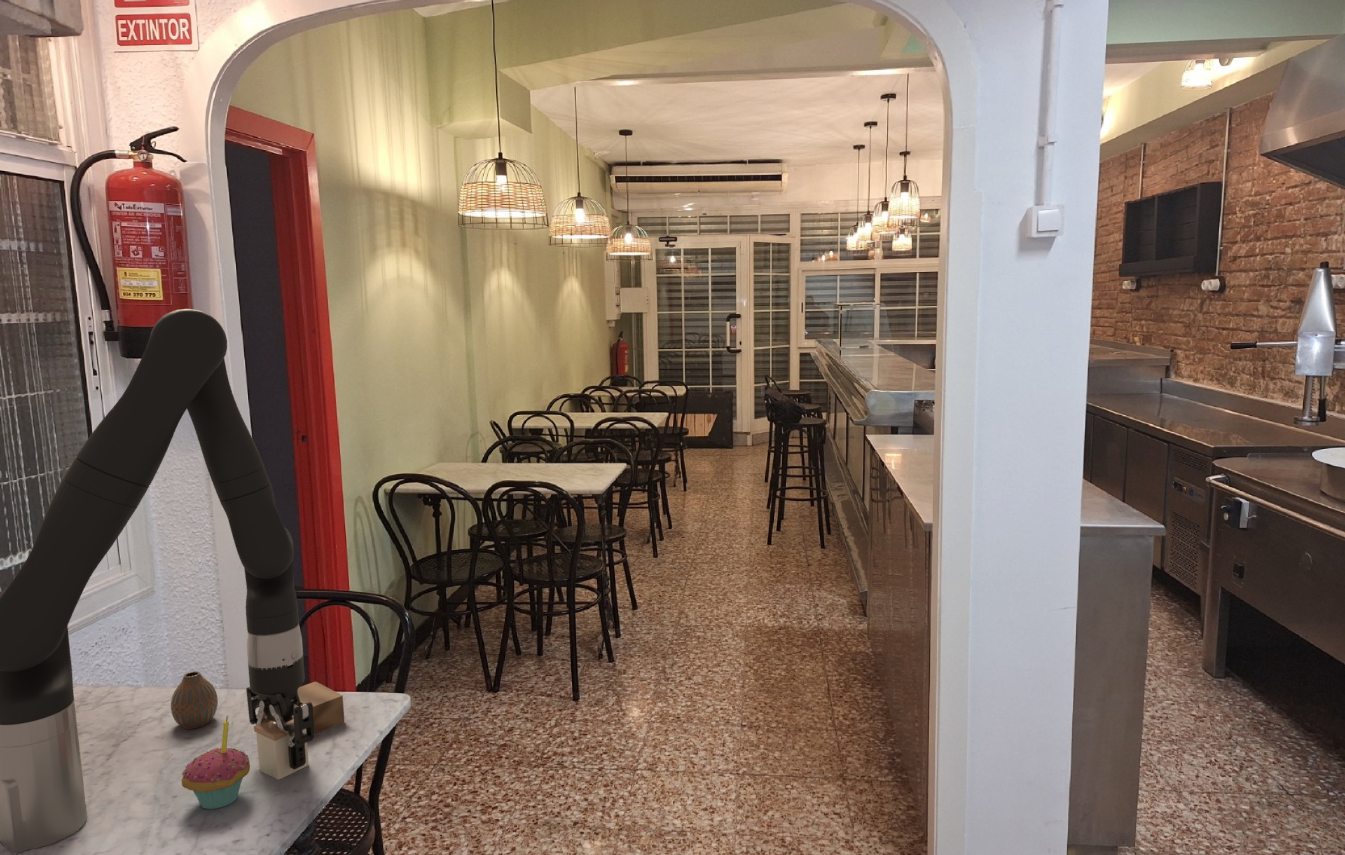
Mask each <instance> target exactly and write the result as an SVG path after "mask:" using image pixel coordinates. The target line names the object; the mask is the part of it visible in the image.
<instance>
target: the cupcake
mask: <svg viewBox="0 0 1345 855" xmlns="http://www.w3.org/2000/svg"><path fill="white" fill-rule="evenodd" d="M225 718H226V719H225V721H223V727H222V737H221V738H222V739H221V747H219V748H218V747H217V748H212V749H211V750H209V751H206V752H205V753H203V754H201V755H199V756H197V757H195V758H194V759H193V760H192V761H191V762H189V763H187V765H186V766H185V769H184V770H183V772H182V773H181V774H182V778H181V786H182V787H183V788H184V789H186V790H189V791H192V792H193V793H194V795H195V797H196V799H197V800H198V803H199V804H200V805H199V806H200V807H201V808H203V809H206V810H213V809H214V810H215V809H220V808H224V807H226V806H228V805H230V804H232V803H234V802H235V801H236V800H237V798H238V797H239V794H240V793H239V792H240V788H241V784H242V782H243V779H244V778H245V777H246V776H247V775H249V772H250V769H251V768H250V767H251V764H250V763H251V762H250V760H249V756H248V755H247V754H246V753H245V751H241V750H239V749H237V748H230V747H229V748H227V747H228V746H227V745H228V735H229V726H230V725H229V723H230V722H229V720H228V719H229V715H227V716H226V717H225Z"/></svg>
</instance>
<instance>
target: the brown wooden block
mask: <svg viewBox="0 0 1345 855" xmlns="http://www.w3.org/2000/svg"><path fill="white" fill-rule="evenodd" d="M297 692H298V696H299V699H300V702H301V703H303V704H305V703H308V702H311V703H312V705H313V719H314V735H316V734H319V733H321V732H323V731H326V730H329V729H331V728H333V727H336V726H339V725H341V724H344V723H345V710H344V709H345V708H344V697H343V696H344V695H343V694H341V693H338V692H337V691H335V690H333V689H331V688H329V687H327V686H325V685H324V684H322V683H319V682H318V681H313V682H310V683H308V684H305V685H301V686H300V687H299V688H298V690H297ZM306 733H307V729H306Z"/></svg>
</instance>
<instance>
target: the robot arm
mask: <svg viewBox="0 0 1345 855" xmlns="http://www.w3.org/2000/svg"><path fill="white" fill-rule="evenodd" d="M226 334H227V333H226V332H225V330H224V327H223V326H222V325H221V324H220V322H219V321H218V320H217V319H215V317H213V316H212V315H210V314H208V313H207V312H206V311H202V310H198V309H193V308H192V309H191V308H184V309H182V308H181V309H176V310H173V311H170V312H168V313H165V314H163V316H162V317H161V318H159V319H158V320H157V322H156V323H155V324H154V325H153V327H152V329H151V332H150V334H149V339H148V342H147V344H146V347H145V350H144V351H143V353H142V356H141V359H140V361H139V363H138V365H137V367H136V368H135V371H134V374H133V375H132V378H131V380H130V381H129V384H128V385H127V387H126V388H125V390H124V392H123V394H122V395H121V396H120V398H119V399H118V401H117V402H116V403H115V404H114V405H113V407H112V408H111V409H110V410H109V411H108V412H107V414H106V415H105V416H104V418H102V420H101V421H100V422H99V424H98V425H97V426H96V427H95V429H94V430H93V431H92V432H91V434H90V435H89V437H88V438H87V439H86V441H85V443H83V445H82V447H81V449H79V451H78V453H77V455H76V456H75V458H74V460H73V461H72V462H71V465H70V466H69V468H68V470H67V471H66V473H65V475H64V477H63V478H62V480H61V481H60V483H59V485H58V487H57V489H56V491H55V493H54V495H53V497H52V500H51V502H50V504H49V506H48V509H47V510H46V513H45V515H44V518H43V520H42V523H41V526H40V528H39V531H38V534H37V536H36V539H35V541H34V544H33V546H32V548H31V550H30V552H29V554H28V556H27V557H26V560H25V561H24V563H23V564H22V566H21V567H20V569H19V571H18V572H17V573H16V575H15V577H14V578H13V579H12V581H11V582H10V583H9V585H8V586H7V588H6V589H4V590H2V591H0V843H1V844H2V845H3V846H4V847H5V848H6V849H7V850H8V851H10V852H11V853H12V854H14V855H16V854H19V853H20V852H23V851H26V850H32V849H39V848H41V847H45V846H49V845H52V844H54V843H57V842H60V841H62V840H64V839H65V838H67V837H69V836H71V835H73V834H75V832H77V831H79V830H80V829H81V828H82V827H83V826H84V825H85V823H86V822H87V820H88V811H87V800H86V795H85V794H86V792H85V786H84V785H85V784H84V776H83V765H82V759H81V748H80V739H79V731H78V721H77V714H76V713H77V710H76V704H75V703H76V702H75V695H74V681H73V664H72V658H71V657H72V656H71V650H70V649H71V648H70V638H69V627H68V625H69V623H70V621H71V619H72V617H73V614H74V612H75V609H76V607H77V605H78V603H79V601H80V598H81V597H82V594H83V592H84V590H85V588H86V586H87V584H88V583H89V581H90V578H91V577H92V576H93V573H94V572H95V570H96V569H97V568H98V566H99V565H100V563H101V562H102V561H103V559H104V558H105V557H106V555H107V554H108V552H109V551H110V549H111V548H112V546H113V545H114V544H115V543H116V541H117V539H118V538H119V536H120V535H121V533H122V532H123V530H124V528H125V527H126V525H128V522H129V521H130V520H131V518H132V516H133V515H134V513H135V512H136V510H137V508H138V507H139V505H140V503H141V501H142V500H143V498H144V497H145V495H146V493H147V491H148V490H149V489H150V485H152V482H153V480H154V479H155V477H156V474H157V473H158V470H159V469H160V467H161V464H162V463H163V460H164V458H165V456H166V454H167V451H168V449H169V447H170V444H171V442H172V439H173V438H174V435H175V432H176V430H177V428H178V425H179V423H180V421H181V419H182V417H183V415H184V413H185V412H188V414H189V417H190V419H191V421H192V422H191V423H192V424H193V429H194V431H195V434H196V436H197V440H198V444H199V447H200V450H201V453H202V457H203V459H204V462H205V466H206V468H207V472H208V474H209V477H210V479H211V482H212V485H213V488H214V490H215V493H216V495H217V497H218V499H219V502H220V505H221V507H222V508H223V511H224V513H225V515H226V518H227V520H228V524H229V528H230V531H231V534H232V539H233V543H234V546H235V549H236V552H237V555H238V558H239V560H240V563H241V565H242V566H243V567H244V568H243V569H244V576H245V584H246V585H245V586H246V596H245V597H246V598H245V619H246V630H247V633H246V634H247V635H246V636H247V638H246V655H247V668H248V680H249V681H248V682H249V687H246V690H245V691H246V700H247V701H246V702H247V709H248V710H247V711H248V720H249V722H250V725H253V726H254V725H255V726H256V725H258V724H261V723H263V722H265V721H268V720H271V721H275V722H276V723H277V725H278V728H279V730H280V732H281V733H284V734H285V736H286V739H287V741H288V744H289V746H288V751H289V764H290V768H292V769H297V768H299V767H301V766H303V765H304V764H305V763H306V755H305V743H306V742H307V743H308V742H312V741H313V740H315V734H314V719H313V705H312V703H311V702H308V703H305V704H303V703H301V702H300V699H299V696H298V692H297V690H298V688H299V687H301V686H302V685H303V683H304V681H305V666H304V650H303V637H302V632H301V628H300V623H299V622H300V621H299V606H298V599H297V593H296V589H295V583H294V582H295V581H294V580H295V578H294V574H295V573H294V572H295V571H294V570H295V569H294V565H295V564H294V553H295V551H294V540H293V537H292V535H291V532H290V531H289V529H287V528H286V527H285V525H284V523H283V520H282V518H281V515H280V512H279V510H278V508H277V506H276V500H275V494H274V490H273V489H274V488H273V486H272V483H271V480H270V477H269V475H268V473H267V470H266V467H265V466H264V462H263V460H262V457H261V454H260V452H259V450H258V447H257V445H256V443H255V440H254V439H253V437H252V435H251V432H250V431H249V429H248V427H247V425H246V423H245V420H244V419H243V417H242V414H241V411H240V409H239V407H238V404H237V401H236V399H235V397H234V394H233V390H232V388H231V385H230V384H231V383H230V381H229V377H228V371H227V367H226V366H227V364H226V362H225V357H226V355H227V349H228V338H227V335H226ZM257 709H258V711H257V714H256V710H257ZM293 718H294V723H292V724H289V725H286V724H285V723H286V722H288V721H291V720H293ZM291 729H294V737H293V734H292V732H291ZM305 729H307V733H306V731H305Z"/></svg>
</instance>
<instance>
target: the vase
mask: <svg viewBox="0 0 1345 855" xmlns="http://www.w3.org/2000/svg"><path fill="white" fill-rule="evenodd" d="M218 705H219V704H218V694H217V690H216V688H215V687H214V685H213V684H212V683H211V682H210V681H209V680H208V679H206V678H205V677H204V676H203V675H202V674H201V672H200V671H198V670H197V671H196V670H195V671H194V670H193V671H190V672H186V673H185V674H184V675H183V676H182V680H181V681H180V682H179V684H178V686H177V687H175V690H174V691H173V694H172V696H171V701H170V710H171V715H172V717H173V719H174V721H175V723H176V724H177V725H179V726H181V727H182V728H184V729H187V730H189V729H197V728H201V727H204V726H206V725H207V724H209V723H210V722H211V721H212V719H213V718H214V716H216V712H217V710H218Z"/></svg>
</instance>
